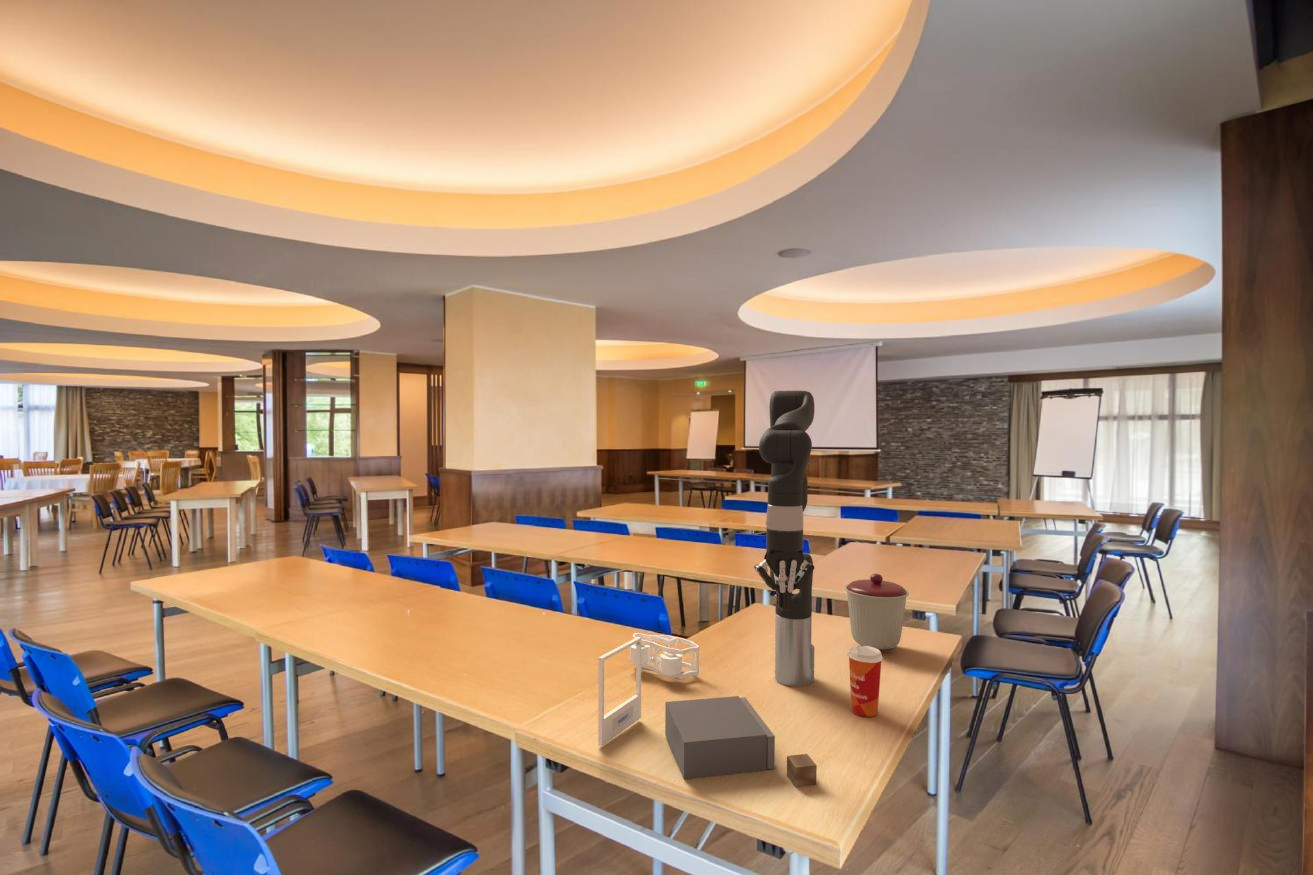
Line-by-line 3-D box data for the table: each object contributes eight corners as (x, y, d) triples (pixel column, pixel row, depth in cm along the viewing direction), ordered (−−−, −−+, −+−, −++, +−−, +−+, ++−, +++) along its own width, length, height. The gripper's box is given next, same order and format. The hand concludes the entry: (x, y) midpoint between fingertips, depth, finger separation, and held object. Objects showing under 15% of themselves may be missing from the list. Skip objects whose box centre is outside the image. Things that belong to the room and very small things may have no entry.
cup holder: (620, 664, 170) (621, 637, 170) (648, 653, 178) (648, 628, 178) (677, 685, 156) (677, 656, 156) (704, 672, 165) (704, 644, 165)
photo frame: (602, 746, 126) (602, 658, 126) (598, 745, 127) (598, 657, 126) (641, 717, 139) (642, 637, 138) (637, 716, 139) (637, 636, 139)
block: (806, 774, 116) (807, 753, 116) (816, 787, 112) (816, 765, 112) (786, 777, 115) (786, 755, 115) (795, 789, 112) (795, 767, 111)
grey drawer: (747, 725, 134) (747, 697, 134) (777, 768, 118) (777, 735, 118) (679, 731, 132) (679, 702, 131) (699, 776, 115) (699, 742, 115)
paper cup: (841, 704, 146) (842, 644, 146) (873, 703, 146) (874, 644, 146) (855, 719, 138) (855, 657, 138) (888, 718, 139) (889, 656, 138)
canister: (855, 630, 199) (856, 564, 199) (914, 641, 188) (915, 572, 188) (835, 646, 184) (836, 575, 184) (899, 659, 174) (899, 584, 173)
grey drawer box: (738, 728, 134) (738, 695, 134) (766, 771, 117) (766, 734, 117) (665, 734, 131) (665, 701, 131) (683, 780, 114) (684, 742, 114)
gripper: (760, 530, 124) (760, 616, 125) (822, 528, 127) (821, 613, 127) (748, 524, 132) (747, 605, 132) (806, 522, 134) (806, 602, 135)
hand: (784, 609), depth 130 cm, fingers closed
